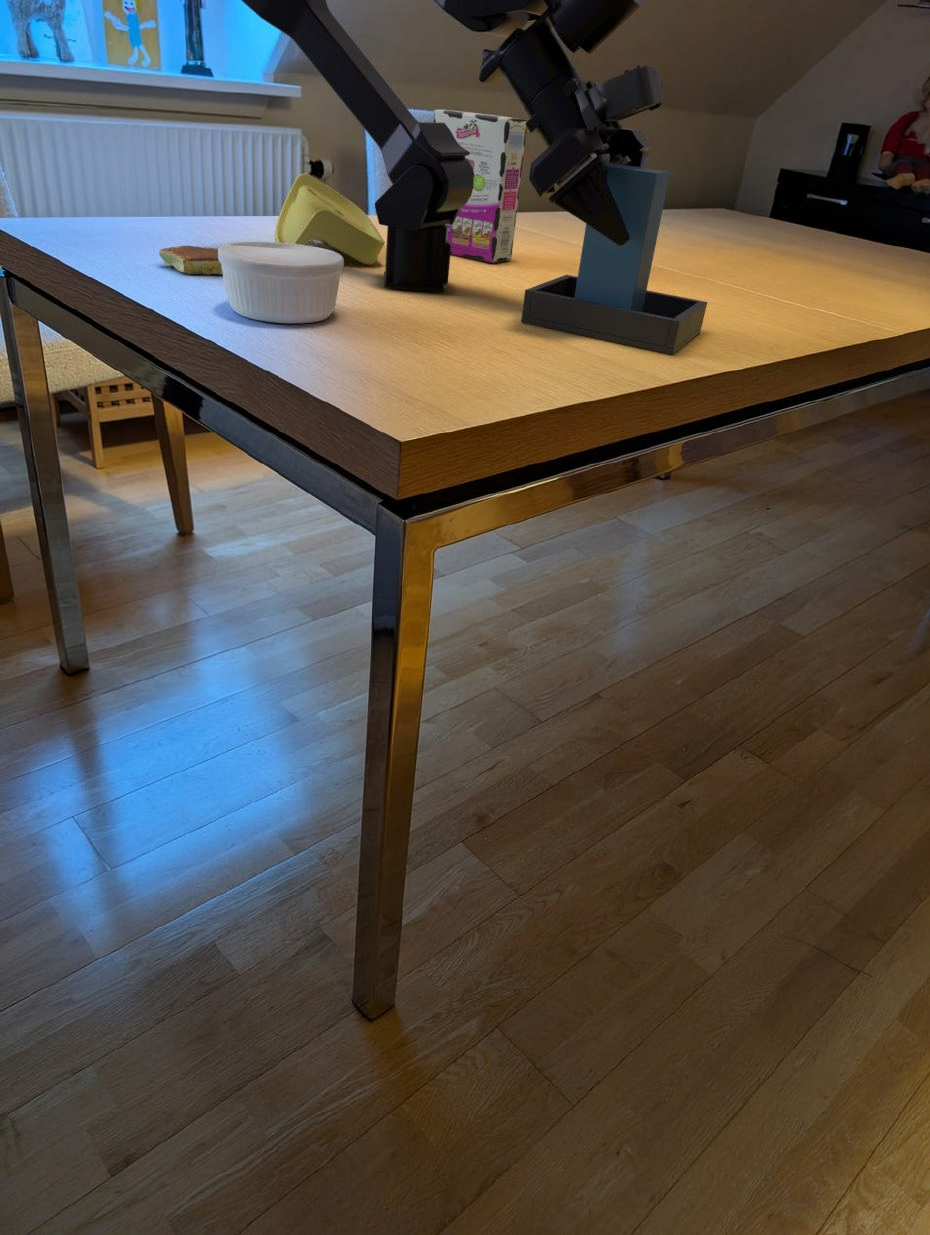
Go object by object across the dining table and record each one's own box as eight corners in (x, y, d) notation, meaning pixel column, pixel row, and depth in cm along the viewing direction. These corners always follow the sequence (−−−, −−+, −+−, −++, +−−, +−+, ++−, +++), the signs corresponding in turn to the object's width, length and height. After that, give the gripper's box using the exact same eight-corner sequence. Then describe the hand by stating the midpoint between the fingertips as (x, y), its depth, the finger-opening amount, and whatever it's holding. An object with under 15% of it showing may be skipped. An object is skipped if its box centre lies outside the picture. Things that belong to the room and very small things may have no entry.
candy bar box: (513, 261, 116) (530, 119, 108) (493, 264, 113) (509, 118, 104) (443, 245, 121) (455, 108, 113) (422, 248, 118) (432, 107, 109)
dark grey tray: (520, 322, 88) (524, 289, 86) (561, 303, 97) (566, 274, 95) (672, 355, 83) (679, 321, 81) (700, 332, 92) (707, 302, 90)
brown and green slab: (282, 277, 94) (282, 259, 93) (236, 287, 88) (235, 268, 87) (201, 259, 98) (200, 242, 97) (152, 268, 92) (150, 249, 91)
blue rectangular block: (569, 318, 89) (594, 163, 81) (585, 312, 92) (610, 162, 85) (627, 331, 86) (657, 173, 79) (641, 324, 90) (671, 171, 82)
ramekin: (296, 293, 88) (296, 237, 86) (367, 320, 82) (369, 261, 79) (196, 303, 81) (192, 242, 79) (265, 333, 75) (264, 268, 72)
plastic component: (388, 247, 102) (311, 200, 97) (358, 303, 105) (282, 261, 100) (361, 206, 117) (293, 164, 112) (335, 257, 120) (267, 218, 115)
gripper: (586, 14, 71) (687, 187, 73) (649, 34, 85) (733, 177, 87) (486, 114, 77) (582, 269, 79) (561, 117, 92) (640, 248, 94)
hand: (639, 238), depth 85 cm, fingers open, 9 cm apart
